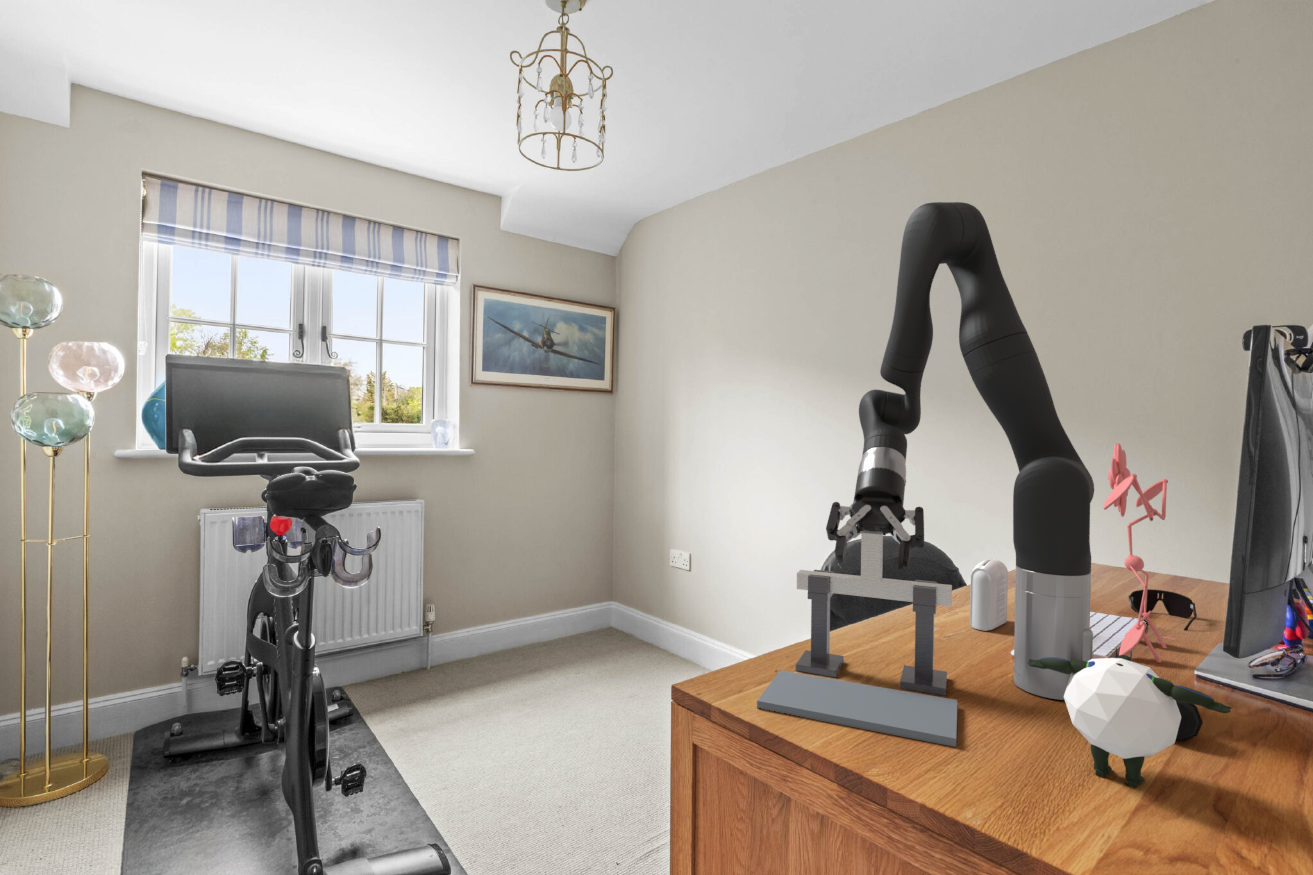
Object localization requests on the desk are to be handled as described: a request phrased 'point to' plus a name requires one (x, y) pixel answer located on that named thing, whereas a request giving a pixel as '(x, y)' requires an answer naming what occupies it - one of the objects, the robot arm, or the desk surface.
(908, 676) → the hook stand
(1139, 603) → the sunglasses
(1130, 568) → the figurine
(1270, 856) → the desk surface
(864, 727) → the mat
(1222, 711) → the figurine
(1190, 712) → the microphone
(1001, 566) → the photo printer
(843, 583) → the rail
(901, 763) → the desk surface
